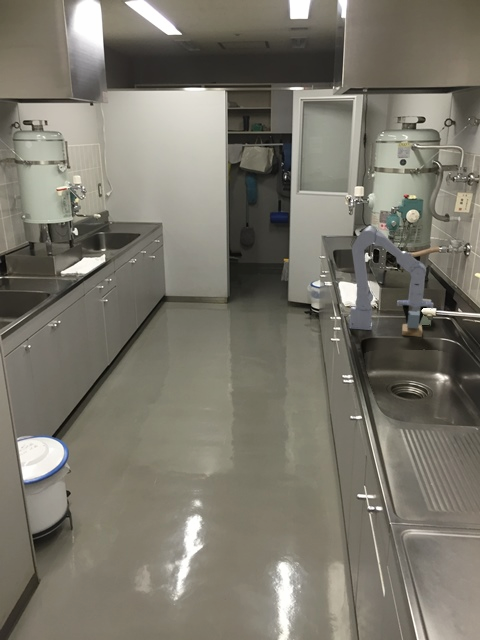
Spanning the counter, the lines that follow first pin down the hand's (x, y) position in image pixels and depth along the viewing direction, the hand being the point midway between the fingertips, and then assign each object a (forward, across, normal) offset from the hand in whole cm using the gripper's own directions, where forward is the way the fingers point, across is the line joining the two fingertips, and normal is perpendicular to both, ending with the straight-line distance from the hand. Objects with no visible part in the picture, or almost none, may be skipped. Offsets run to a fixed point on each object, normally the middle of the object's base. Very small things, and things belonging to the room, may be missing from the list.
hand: (412, 322), depth 223 cm
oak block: (+5, 0, 0) cm, 5 cm away
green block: (+5, +5, +12) cm, 14 cm away
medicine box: (+5, +4, +19) cm, 20 cm away
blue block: (+2, 0, 0) cm, 2 cm away
